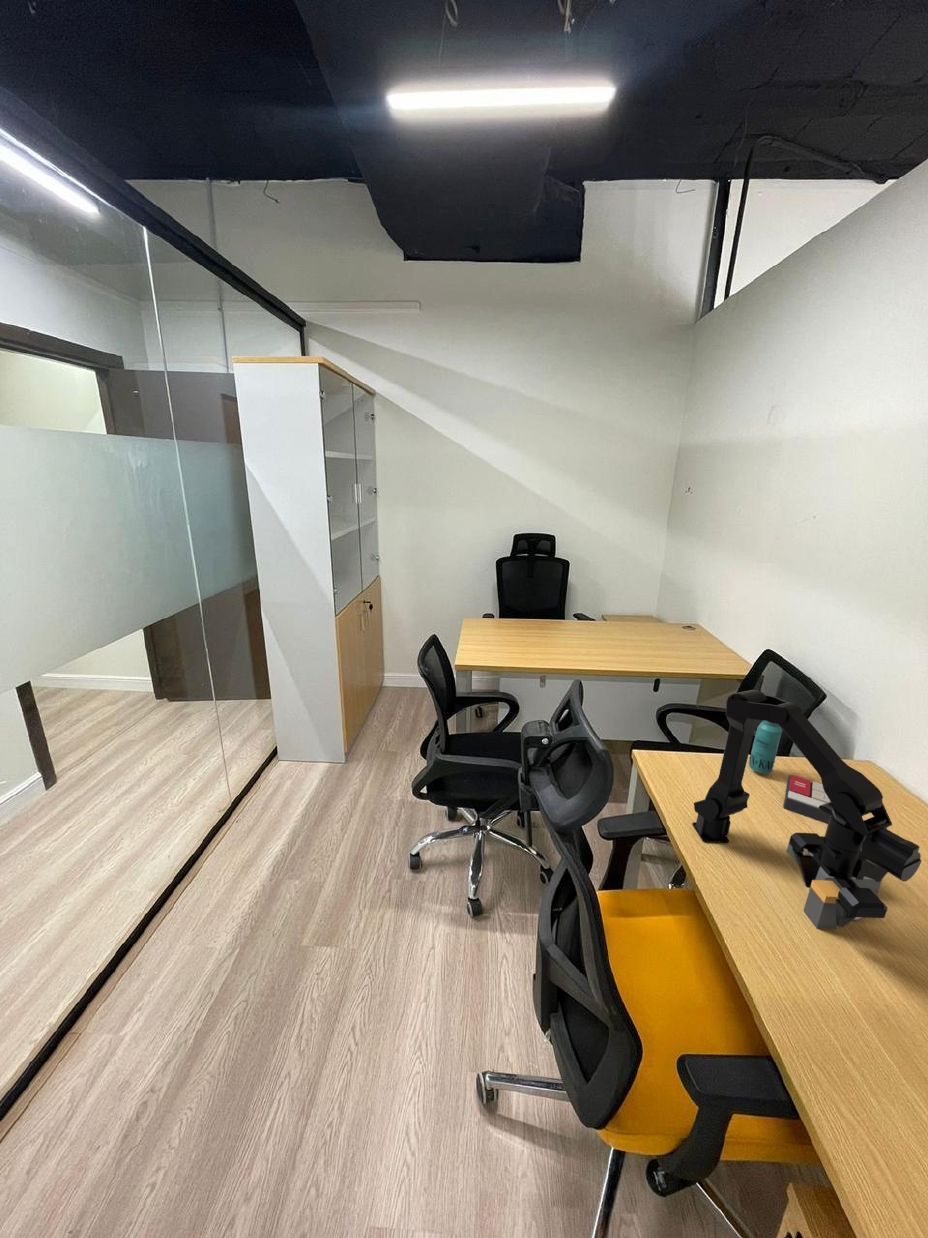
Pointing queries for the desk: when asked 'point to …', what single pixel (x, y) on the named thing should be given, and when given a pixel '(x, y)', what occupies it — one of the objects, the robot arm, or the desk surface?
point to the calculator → (806, 798)
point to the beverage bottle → (765, 747)
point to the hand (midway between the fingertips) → (823, 905)
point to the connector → (822, 904)
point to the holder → (824, 876)
